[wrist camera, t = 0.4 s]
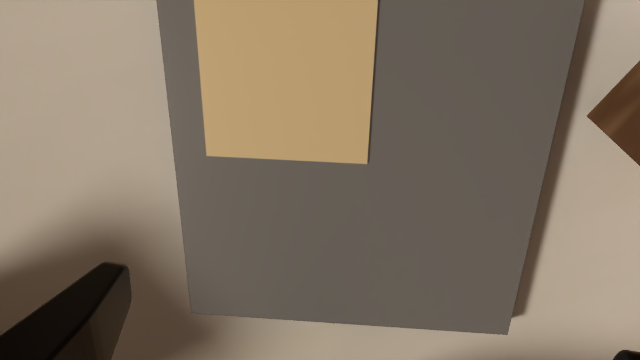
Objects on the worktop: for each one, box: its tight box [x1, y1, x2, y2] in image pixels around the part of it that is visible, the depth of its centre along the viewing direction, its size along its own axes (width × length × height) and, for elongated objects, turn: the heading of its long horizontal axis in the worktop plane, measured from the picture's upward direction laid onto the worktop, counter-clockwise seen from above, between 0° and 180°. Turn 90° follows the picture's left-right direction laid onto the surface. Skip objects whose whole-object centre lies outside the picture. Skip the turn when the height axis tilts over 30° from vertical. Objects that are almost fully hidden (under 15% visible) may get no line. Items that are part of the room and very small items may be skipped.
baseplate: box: [157, 0, 585, 335], centre depth 24 cm, size 16×16×1 cm
